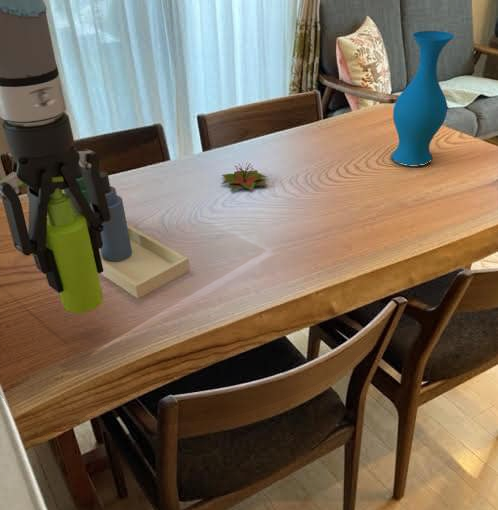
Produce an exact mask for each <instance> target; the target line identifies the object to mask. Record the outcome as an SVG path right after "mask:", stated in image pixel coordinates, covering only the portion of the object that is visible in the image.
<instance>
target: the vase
mask: <svg viewBox="0 0 498 510" xmlns="http://www.w3.org/2000/svg"><path fill="white" fill-rule="evenodd" d="M454 37H455V36H454V34H452V33H450V32H446V31H441V30H440V31H439V30H422V31H418V32H415V33H413V34H412V38H413V39H414V40H415V41H416V44H417V46H418V49H419V63H418V67H417V70H416V73H415V75H414V77H413V78H412V80H411V81H410V82H409V84H408V85H407V86H406V87H405V89H404V90H402V92H401V93H400V94H399V95H398V97H397V99H396V101H395V103H394V106H393V111H392V117H393V124H394V126H395V129H396V133H397V135H398V136H397V137H398V144H397V148H396V149H395V150H394V151H393V153H392V154H391V156H392V157H391V159H392V158H393V159H394V160H395V161H397V162H399V163H397V162H395V161H394V160H393V159H392V160H393V161H394V162H395V163H396V164H398V165H401V166H405V167H411V168H412V167H413V168H415V167H416V168H417V167H419V166H409V165H420V164H425V163H427V162H429V161H430V160H432V161H433V155H432V153H431V151H430V146H431V142H432V140H433V138H434V137H435V136H436V134H437V133H438V131H439V130H441V127H442V126H443V124H444V122H445V120H446V118H447V114H448V103H447V99H446V96H445V94H444V92H443V90H442V87H441V86H440V83H439V80H438V74H437V67H438V62H439V57H440V55H441V52H442V50H443V49H444V48H445V46H446V45H447V44H448V43H450V41H451V40H452V39H454ZM400 163H403V164H407V165H403V164H400ZM429 164H430V163H428V164H426V165H421V166H420V167H424V166H427V165H429Z"/></svg>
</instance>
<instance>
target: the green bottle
mask: <svg viewBox="0 0 498 510" xmlns="http://www.w3.org/2000/svg"><path fill="white" fill-rule="evenodd" d="M74 177H75V179H76V180H77V182H78V184H79V186H80V187H81V189H80V190H81V192H82V193H83V195H84V197H85V198H86V200H87V202H88V204H89V205H90V198H89V195H88V191H87V188H86V184H85V181H84V177H83V173H82V169H81V166H80V165H79V163H78V166H77V168H76V171H75V174H74ZM63 193H64V194H66V193H65V191H64V190H63ZM72 206H73V204H72ZM90 207H91V206H90ZM73 210H74V213H77V214H78V212H77V211H76V209H75V207H74V206H73Z"/></svg>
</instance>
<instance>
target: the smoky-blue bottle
mask: <svg viewBox="0 0 498 510" xmlns="http://www.w3.org/2000/svg"><path fill="white" fill-rule="evenodd" d="M99 173H100V177H101V181H102V185H103V189H104V193H105V196H106V200H107V204H108V208H109V212H110V216H111V218H110V220H109V221H108V222H104V223H102V224H101V225H103V226H104V229H103V231H102V232H100V233H101V237H102V242H103V247H102V248H100V249H101V253H102V257H103V259H104V260H106V261H109V262H120V261H123V260H126V259H128V258H129V257H130V256H131V255H132V249H131V243H130V238H129V233H128V227H127V224H128V223H127V217H126V212H125V206H124V201H123V197H121V196H120V195H118V194H117V190H116V187H114V186H111V183H110V178H109V173H108V172H106V171H99ZM90 206H91V202H90ZM91 209H92V206H91ZM92 211H93V209H92Z"/></svg>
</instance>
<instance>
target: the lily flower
mask: <svg viewBox="0 0 498 510" xmlns="http://www.w3.org/2000/svg"><path fill="white" fill-rule="evenodd" d="M243 163H244V162H242V163H241V164H242V165H244V164H243ZM237 164H238V166H239V167H238V166H237V165H234V168H235V169H236V171H234V172H233V173H226V174H221V176H222V177H223V178H224V180H223V182H221V183H220V185H225V184H230V185H229V187H230V191H231V192H234V191H236V190H240V189H243V188H246V189H248V190H250V191H251V192H253V190H254V187H257V186H269V184H268V183H267V182H266V181H265V180H263V178H264V179H265V178H267V176H266V175H264V174H262V173H260V172H259V171H258V169H254V166H253V165H252V166H251V163H249V164H248V162H246V164H245V166H246V167H245V168H243V167H242V165H241V164H240V163H237ZM247 165H248V166H247ZM244 169H245V170H244Z"/></svg>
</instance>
